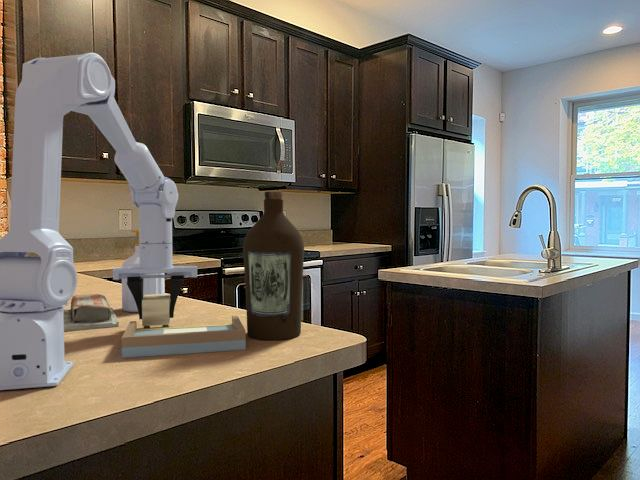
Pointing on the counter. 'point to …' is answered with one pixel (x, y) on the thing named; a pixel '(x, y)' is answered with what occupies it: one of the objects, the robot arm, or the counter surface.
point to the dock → (183, 339)
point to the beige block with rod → (155, 310)
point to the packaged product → (89, 313)
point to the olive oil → (273, 274)
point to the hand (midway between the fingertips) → (156, 317)
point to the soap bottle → (149, 284)
